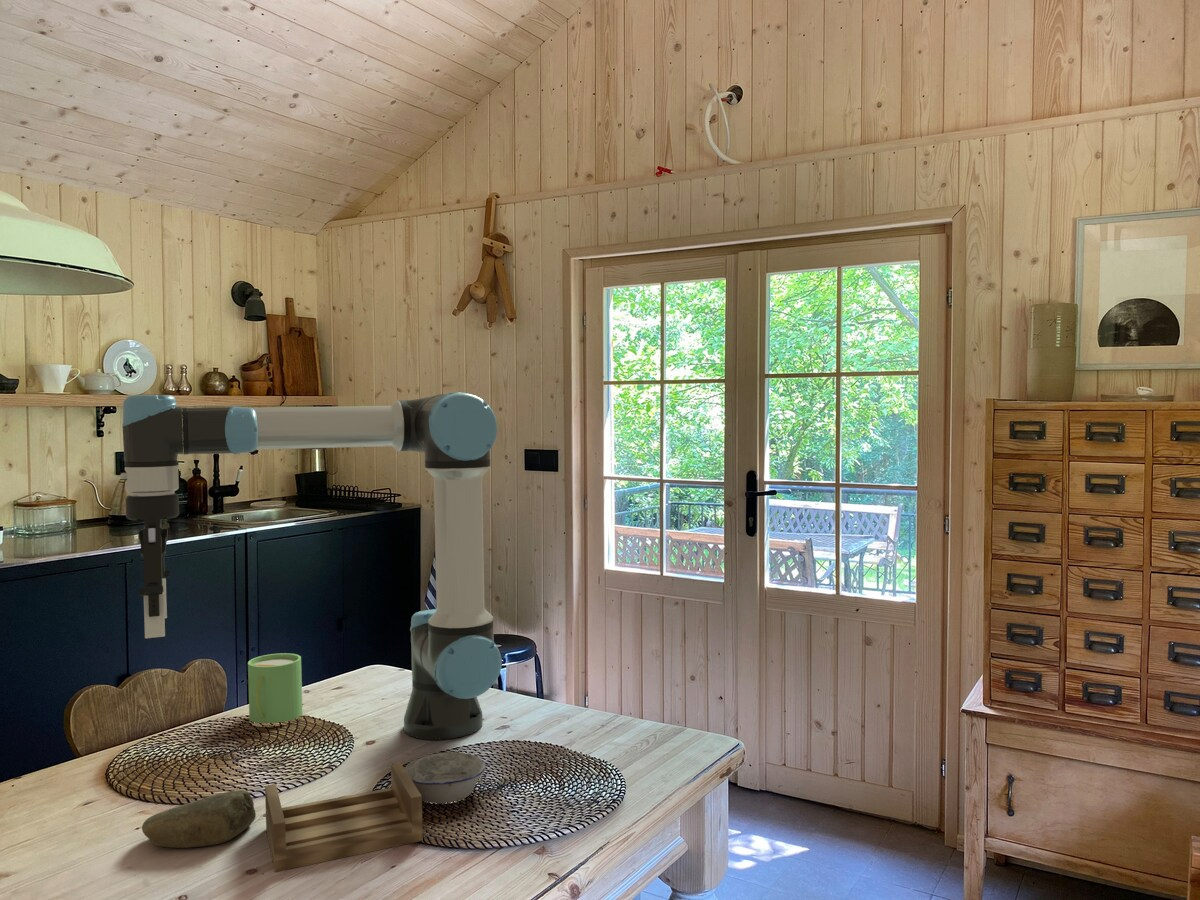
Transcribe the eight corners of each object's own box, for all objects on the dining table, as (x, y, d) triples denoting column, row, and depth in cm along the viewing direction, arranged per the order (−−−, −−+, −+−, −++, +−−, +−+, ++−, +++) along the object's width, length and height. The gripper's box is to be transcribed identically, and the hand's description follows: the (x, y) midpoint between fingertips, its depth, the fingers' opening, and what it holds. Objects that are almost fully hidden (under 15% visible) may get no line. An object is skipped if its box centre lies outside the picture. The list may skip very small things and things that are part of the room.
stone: (262, 835, 129) (223, 781, 126) (171, 893, 126) (129, 839, 124) (268, 804, 137) (231, 754, 135) (182, 858, 135) (143, 807, 132)
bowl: (431, 820, 135) (430, 788, 135) (389, 794, 145) (388, 765, 145) (501, 795, 144) (501, 765, 144) (458, 772, 154) (457, 744, 153)
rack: (401, 802, 142) (400, 762, 141) (422, 840, 129) (421, 795, 129) (266, 828, 133) (264, 785, 133) (274, 872, 120) (273, 824, 120)
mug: (263, 709, 188) (262, 652, 187) (311, 711, 186) (309, 653, 186) (231, 730, 175) (229, 669, 175) (281, 732, 174) (279, 671, 173)
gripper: (129, 488, 151) (134, 614, 152) (119, 501, 128) (124, 648, 129) (179, 486, 154) (183, 609, 155) (177, 498, 131) (182, 642, 132)
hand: (156, 627), depth 142 cm, fingers open, 13 cm apart
